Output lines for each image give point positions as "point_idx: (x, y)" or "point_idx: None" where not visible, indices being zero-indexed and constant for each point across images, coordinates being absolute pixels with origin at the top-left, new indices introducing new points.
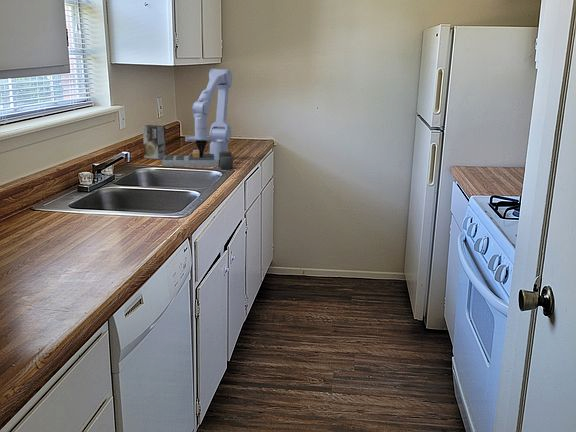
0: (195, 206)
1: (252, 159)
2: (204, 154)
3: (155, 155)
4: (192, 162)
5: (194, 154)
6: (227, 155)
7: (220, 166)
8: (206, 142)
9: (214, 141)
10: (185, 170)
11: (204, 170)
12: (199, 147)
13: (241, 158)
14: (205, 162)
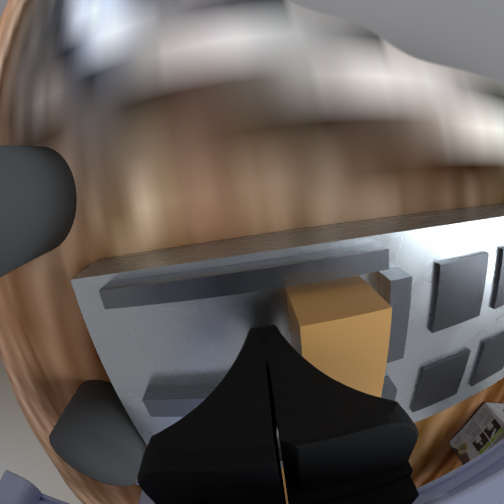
0: None
1: (51, 459)
2: None
3: (498, 411)
4: (348, 231)
5: (359, 304)
6: (63, 419)
7: (58, 167)
8: (140, 485)
9: (43, 495)
10: (358, 39)
11: (192, 50)
12: (309, 388)
13: (100, 482)
14: (205, 254)
